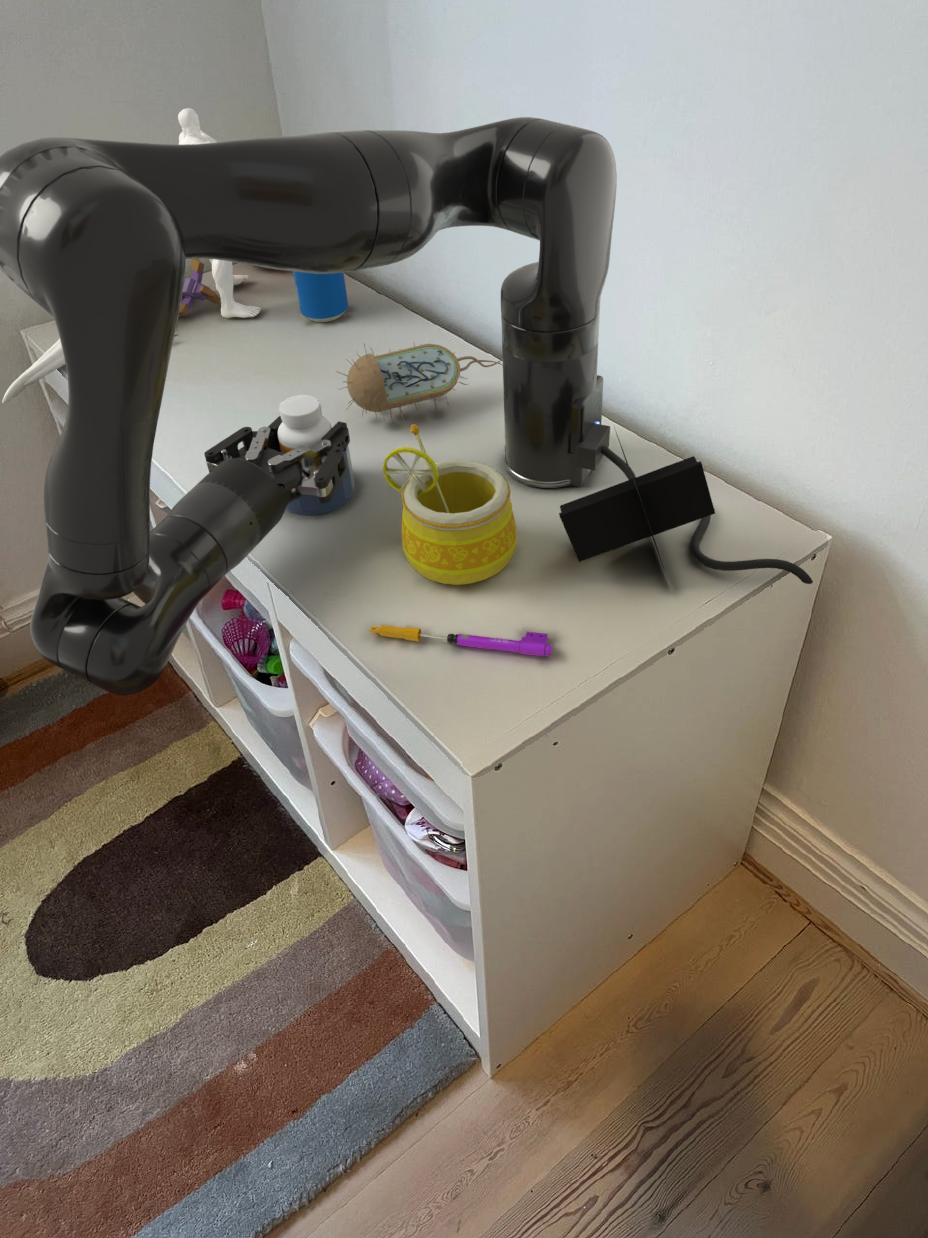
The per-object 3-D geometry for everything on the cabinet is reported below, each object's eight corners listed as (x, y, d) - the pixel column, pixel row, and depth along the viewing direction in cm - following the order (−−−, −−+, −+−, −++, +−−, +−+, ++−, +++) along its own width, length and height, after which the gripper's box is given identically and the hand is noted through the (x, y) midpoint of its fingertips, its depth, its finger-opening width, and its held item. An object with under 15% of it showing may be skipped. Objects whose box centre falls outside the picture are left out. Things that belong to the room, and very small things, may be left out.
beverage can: (297, 307, 132) (281, 219, 124) (343, 299, 133) (330, 211, 125) (306, 328, 128) (289, 238, 119) (353, 319, 129) (340, 228, 121)
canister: (368, 478, 102) (361, 433, 98) (330, 522, 97) (321, 477, 93) (303, 463, 105) (294, 419, 101) (263, 505, 100) (252, 461, 96)
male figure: (276, 311, 131) (235, 112, 114) (227, 325, 129) (178, 124, 112) (246, 277, 140) (204, 87, 123) (200, 289, 138) (151, 98, 121)
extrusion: (702, 458, 77) (672, 395, 85) (555, 512, 80) (539, 447, 87) (732, 567, 86) (702, 501, 93) (598, 613, 88) (579, 545, 95)
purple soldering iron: (550, 648, 80) (368, 626, 84) (550, 660, 81) (369, 638, 84) (555, 631, 82) (377, 611, 86) (555, 642, 83) (378, 622, 86)
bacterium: (519, 411, 114) (536, 361, 104) (355, 455, 109) (356, 407, 100) (487, 338, 117) (500, 283, 107) (325, 378, 112) (324, 324, 103)
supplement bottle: (332, 504, 98) (317, 421, 91) (282, 500, 99) (263, 417, 92) (347, 474, 102) (334, 392, 95) (298, 470, 103) (282, 388, 96)
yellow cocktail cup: (542, 556, 91) (542, 449, 83) (452, 610, 86) (443, 502, 78) (456, 498, 99) (448, 394, 90) (369, 545, 94) (352, 439, 86)
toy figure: (155, 247, 133) (187, 258, 137) (144, 308, 134) (176, 316, 139) (210, 258, 126) (241, 269, 130) (197, 322, 128) (229, 331, 132)
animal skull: (41, 434, 120) (37, 401, 114) (-12, 402, 119) (-19, 368, 114) (159, 317, 133) (160, 283, 127) (111, 289, 133) (111, 253, 127)
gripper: (282, 501, 82) (377, 403, 93) (147, 469, 87) (252, 379, 98) (297, 569, 87) (385, 468, 98) (169, 534, 92) (266, 442, 103)
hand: (318, 424), depth 98 cm, fingers closed on supplement bottle, 5 cm apart
